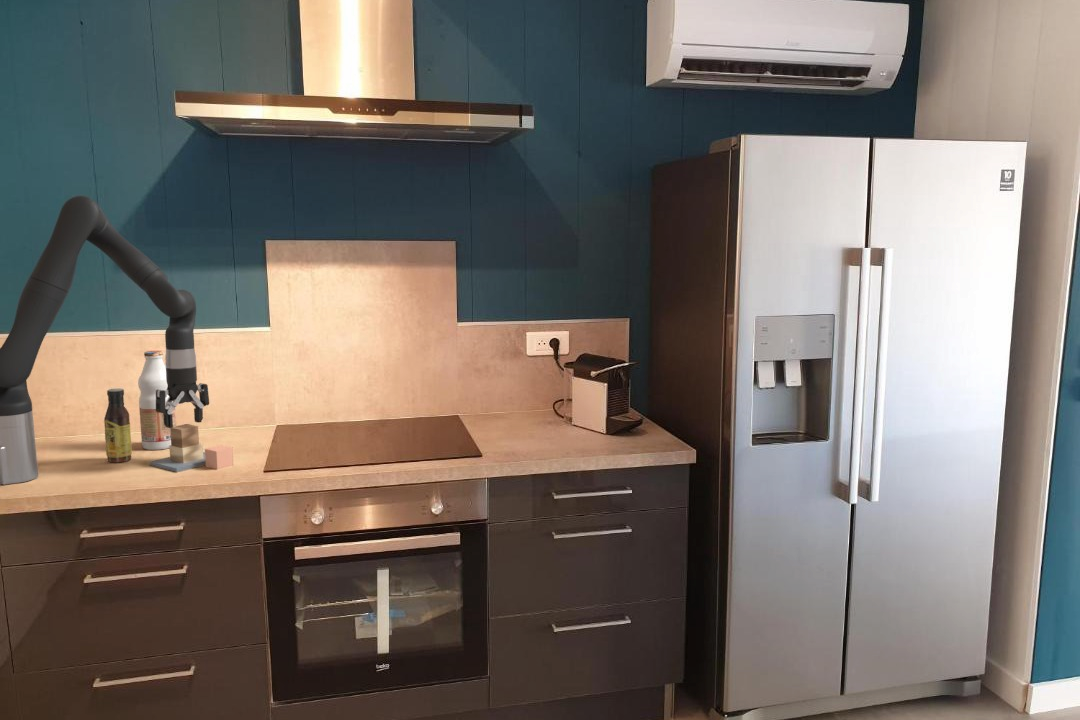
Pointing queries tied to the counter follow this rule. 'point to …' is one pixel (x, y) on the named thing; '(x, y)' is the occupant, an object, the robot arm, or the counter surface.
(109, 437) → the sauce bottle
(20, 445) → the robot arm
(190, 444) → the walnut block
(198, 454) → the oak plinth
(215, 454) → the terracotta block
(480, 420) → the counter surface
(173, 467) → the board
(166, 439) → the fruit juice
